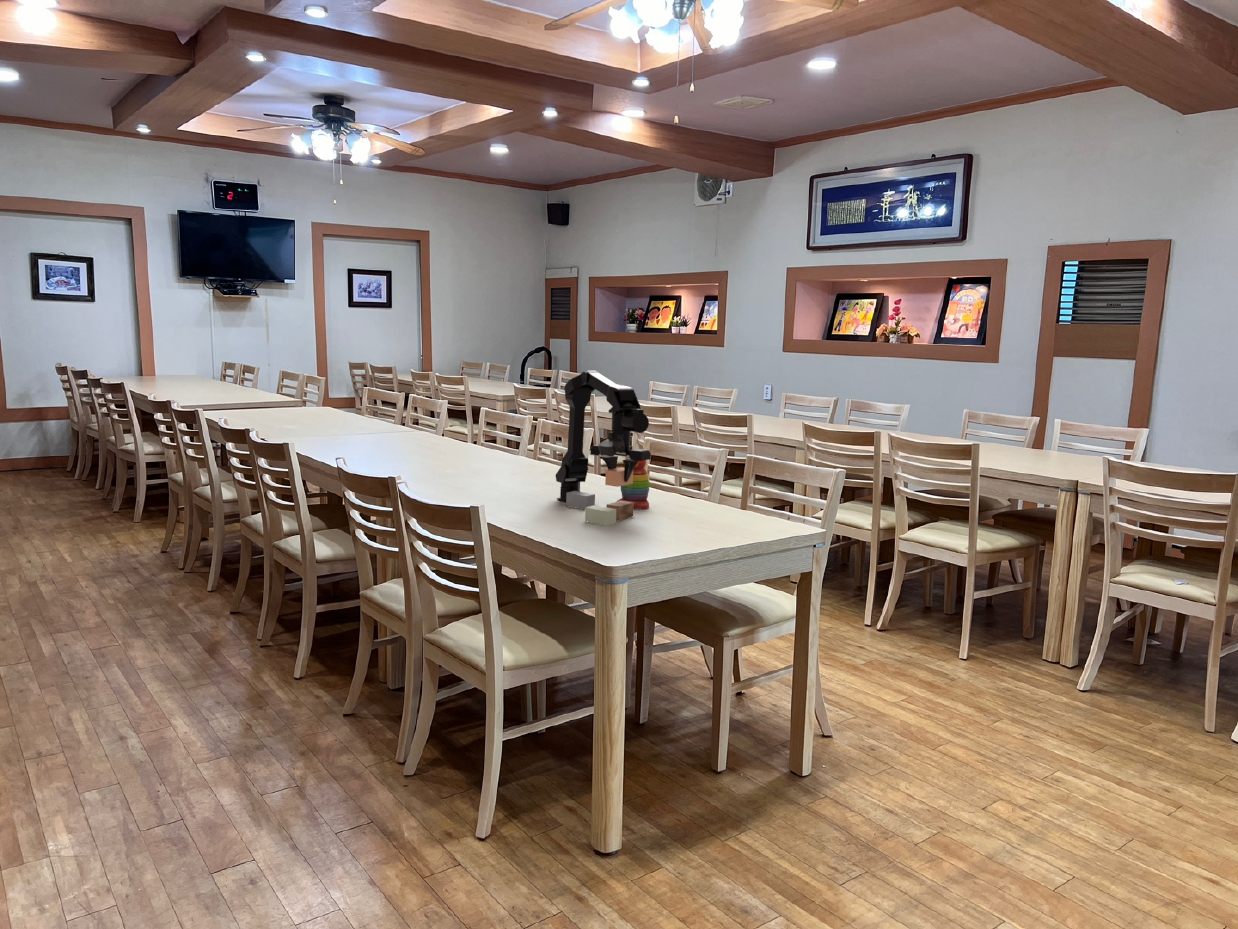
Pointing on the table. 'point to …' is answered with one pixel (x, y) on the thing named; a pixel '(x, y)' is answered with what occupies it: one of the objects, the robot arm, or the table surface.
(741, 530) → the table surface
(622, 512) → the walnut block
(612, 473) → the terracotta block
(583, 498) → the slate block
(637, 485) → the stacking bear
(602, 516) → the sage block
